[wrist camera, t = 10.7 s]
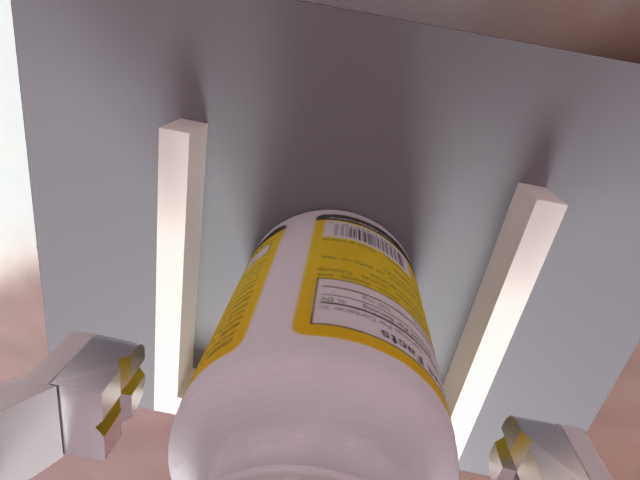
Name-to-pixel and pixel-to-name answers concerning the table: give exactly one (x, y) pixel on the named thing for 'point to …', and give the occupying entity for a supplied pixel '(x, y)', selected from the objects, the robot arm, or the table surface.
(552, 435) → the robot arm
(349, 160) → the dock
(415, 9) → the table surface
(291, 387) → the supplement bottle
